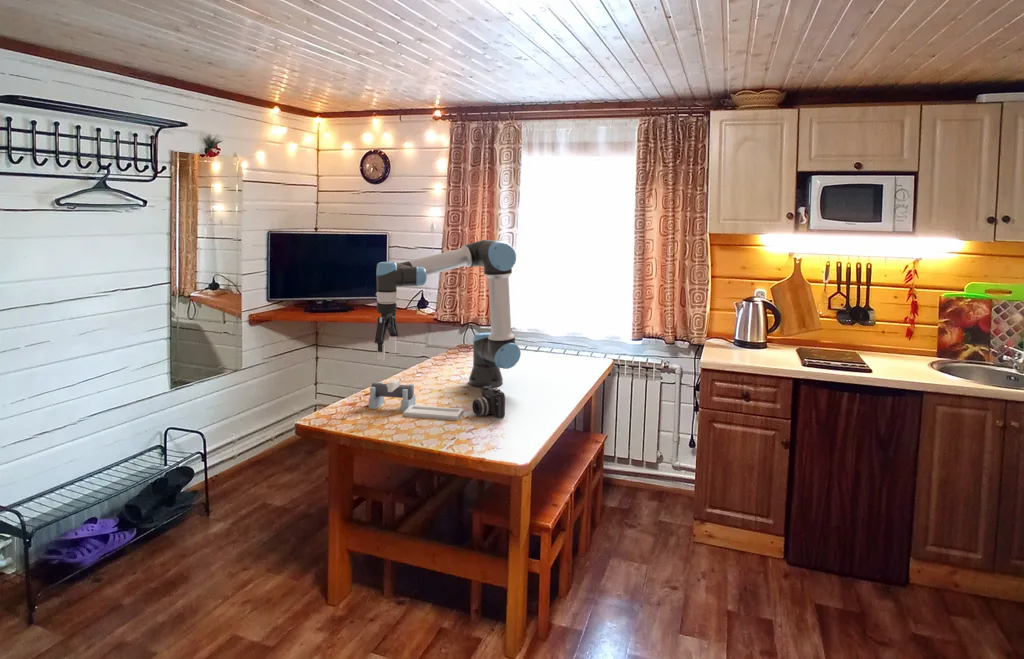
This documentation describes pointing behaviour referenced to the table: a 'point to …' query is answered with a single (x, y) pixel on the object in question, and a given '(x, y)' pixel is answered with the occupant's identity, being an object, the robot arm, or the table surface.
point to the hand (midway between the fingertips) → (386, 356)
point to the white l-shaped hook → (393, 385)
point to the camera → (490, 402)
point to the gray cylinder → (383, 391)
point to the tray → (433, 412)
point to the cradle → (379, 400)
